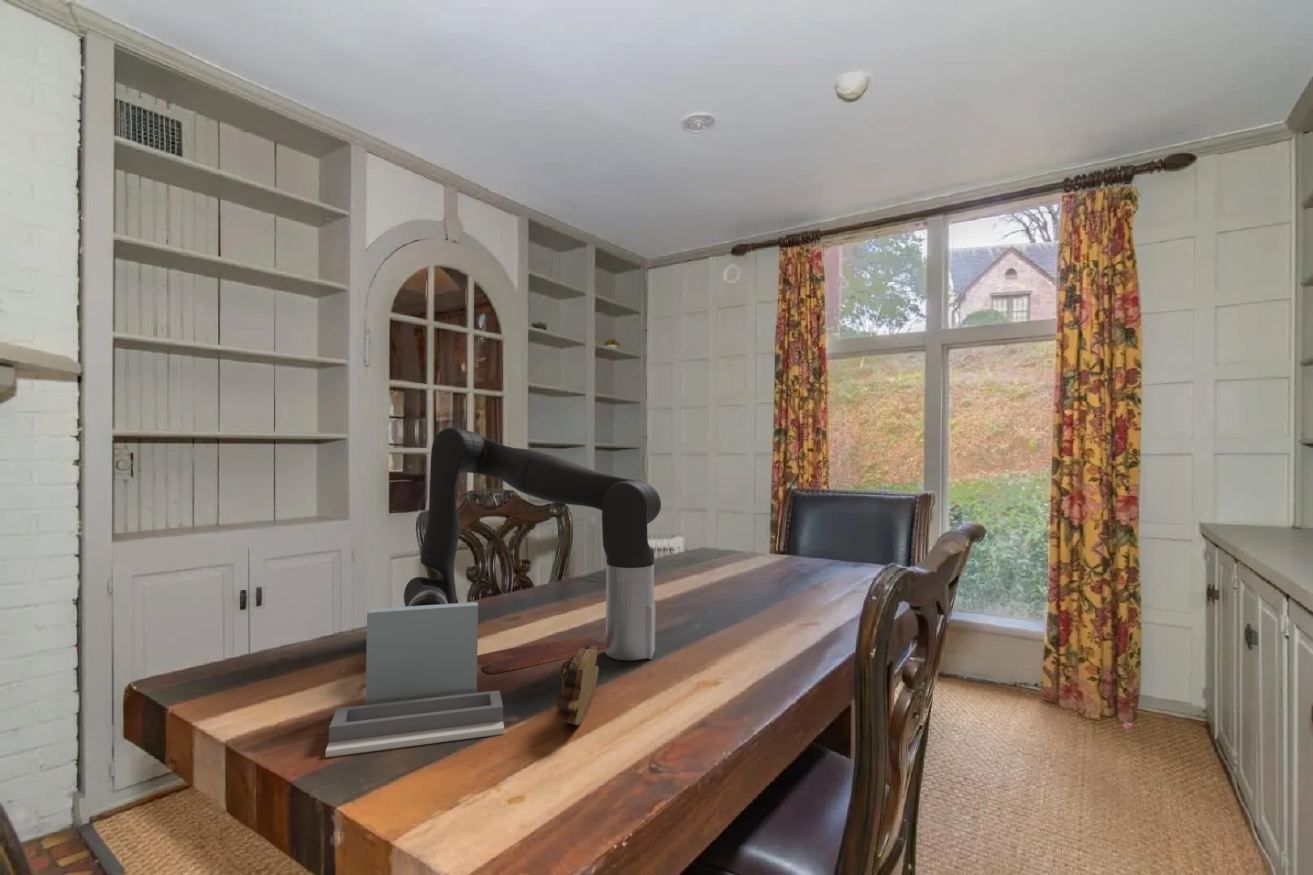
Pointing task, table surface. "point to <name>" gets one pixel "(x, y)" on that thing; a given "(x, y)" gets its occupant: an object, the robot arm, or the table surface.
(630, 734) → the table surface
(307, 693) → the table surface
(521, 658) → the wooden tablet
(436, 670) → the grey panel
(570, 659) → the wooden carving
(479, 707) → the track
